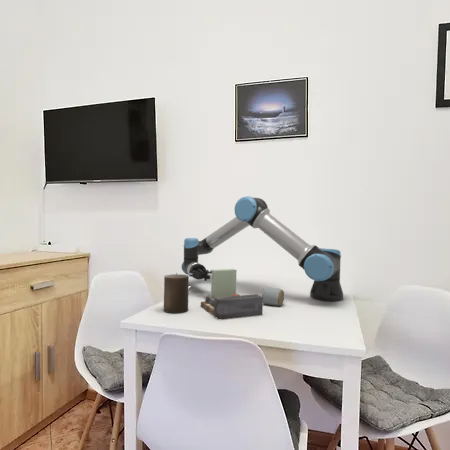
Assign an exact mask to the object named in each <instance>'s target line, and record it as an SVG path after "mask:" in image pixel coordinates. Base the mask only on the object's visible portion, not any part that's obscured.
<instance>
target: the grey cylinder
mask: <svg viewBox="0 0 450 450" xmlns="http://www.w3.org/2000/svg"><path fill="white" fill-rule="evenodd" d="M261 296H262V297H263V305H269V306H275V307H280V306H282V305H283V304H284V300H285V292H284V290H283V289H281V288H277V287H272V286H267V285H266V286H264V288H263V289H262V292H261Z"/></svg>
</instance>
